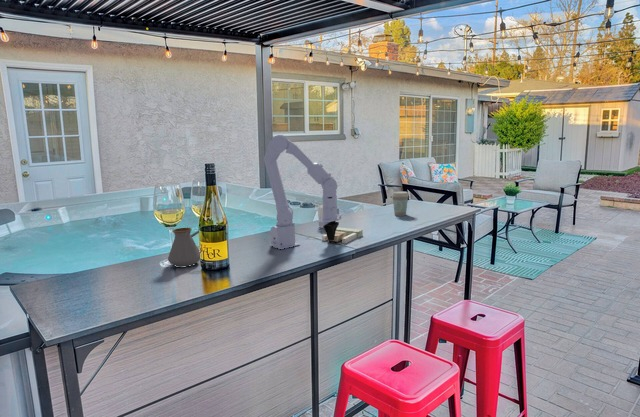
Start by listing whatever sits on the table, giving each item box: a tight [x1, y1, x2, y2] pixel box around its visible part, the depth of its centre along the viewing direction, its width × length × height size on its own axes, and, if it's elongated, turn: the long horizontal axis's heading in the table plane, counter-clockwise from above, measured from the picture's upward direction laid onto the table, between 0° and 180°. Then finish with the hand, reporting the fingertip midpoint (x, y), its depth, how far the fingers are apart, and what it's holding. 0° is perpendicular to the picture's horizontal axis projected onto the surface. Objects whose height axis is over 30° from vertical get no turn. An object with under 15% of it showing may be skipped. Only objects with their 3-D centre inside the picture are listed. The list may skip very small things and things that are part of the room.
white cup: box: [317, 204, 324, 229], centre depth 202 cm, size 8×8×10 cm
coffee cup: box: [391, 190, 409, 217], centre depth 223 cm, size 8×8×12 cm
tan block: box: [326, 231, 346, 243], centre depth 177 cm, size 7×5×3 cm
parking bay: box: [321, 226, 363, 244], centre depth 181 cm, size 14×12×2 cm
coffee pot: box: [167, 227, 201, 266], centre depth 154 cm, size 21×12×15 cm, turn 128°
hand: (331, 239), depth 173 cm, fingers closed
